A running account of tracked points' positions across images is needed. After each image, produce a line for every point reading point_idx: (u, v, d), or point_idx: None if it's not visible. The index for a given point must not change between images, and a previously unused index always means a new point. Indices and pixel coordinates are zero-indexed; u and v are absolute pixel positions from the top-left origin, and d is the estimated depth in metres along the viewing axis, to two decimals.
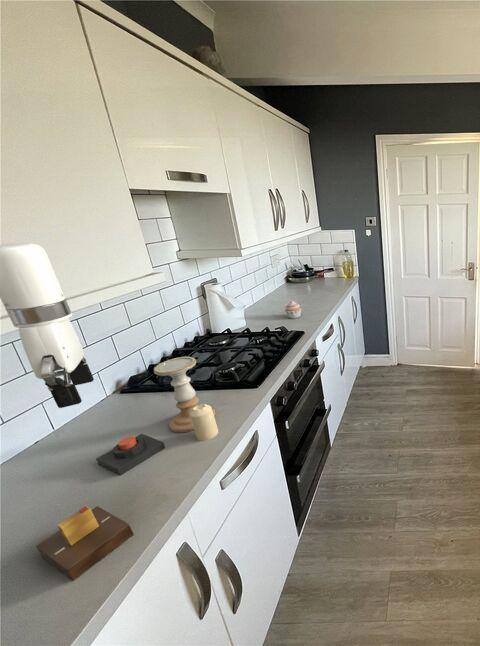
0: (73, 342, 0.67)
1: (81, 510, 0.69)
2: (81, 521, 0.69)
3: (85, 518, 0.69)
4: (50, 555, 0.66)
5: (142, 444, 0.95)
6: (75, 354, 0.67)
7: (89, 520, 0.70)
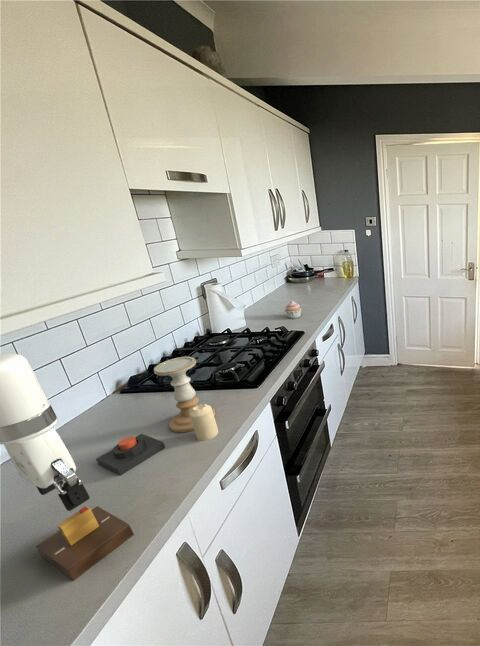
0: None
1: (81, 510, 0.69)
2: (81, 521, 0.69)
3: (85, 518, 0.69)
4: (50, 555, 0.66)
5: (142, 444, 0.95)
6: None
7: (89, 520, 0.70)
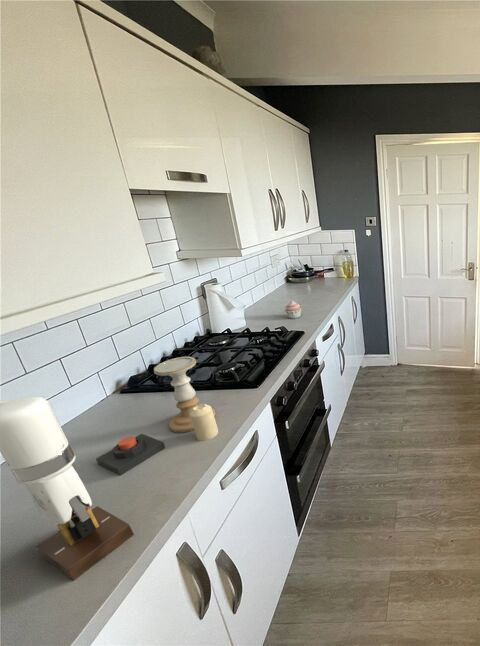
0: None
1: None
2: None
3: None
4: (50, 555, 0.66)
5: (142, 444, 0.95)
6: None
7: None
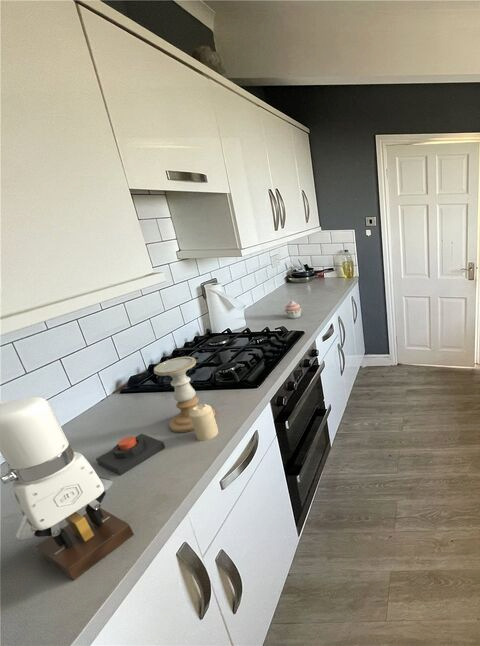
0: None
1: None
2: None
3: None
4: (50, 555, 0.66)
5: (142, 444, 0.95)
6: None
7: None
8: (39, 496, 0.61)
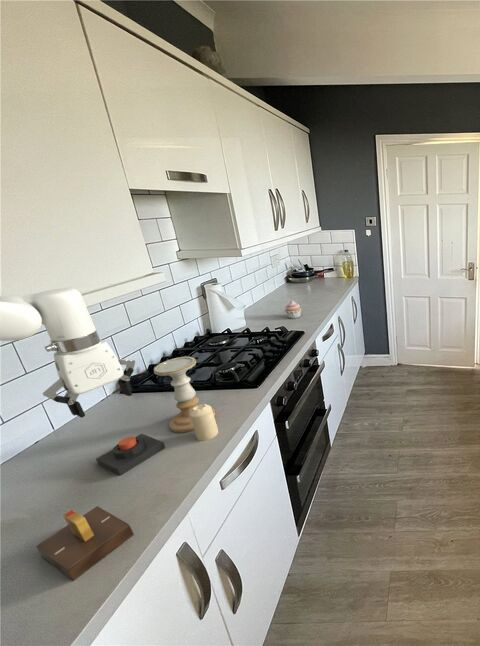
0: None
1: (69, 513, 0.69)
2: None
3: None
4: (50, 555, 0.66)
5: (142, 444, 0.95)
6: None
7: None
8: (74, 365, 0.78)
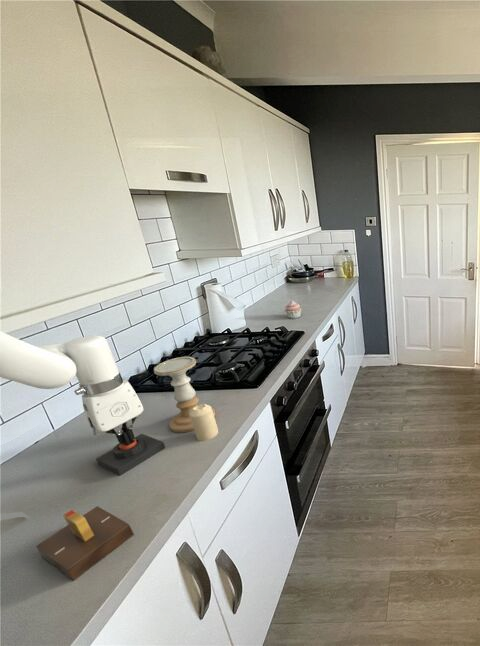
0: None
1: (69, 513, 0.69)
2: None
3: None
4: (50, 555, 0.66)
5: (142, 444, 0.95)
6: None
7: None
8: (100, 406, 0.85)
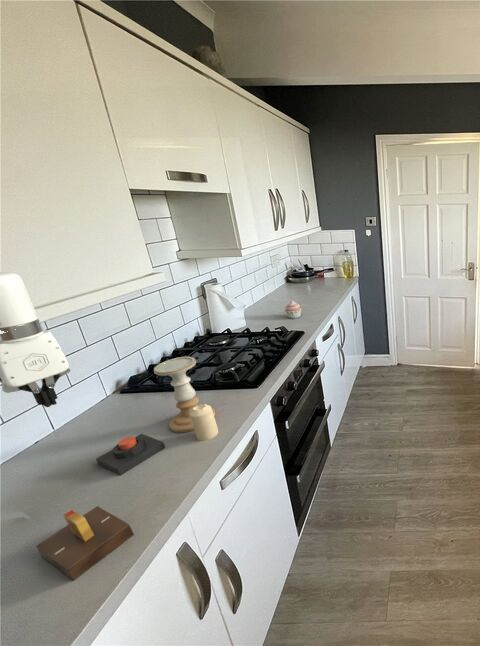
0: None
1: (69, 513, 0.69)
2: None
3: None
4: (50, 555, 0.66)
5: (142, 444, 0.95)
6: None
7: None
8: (10, 356, 0.72)
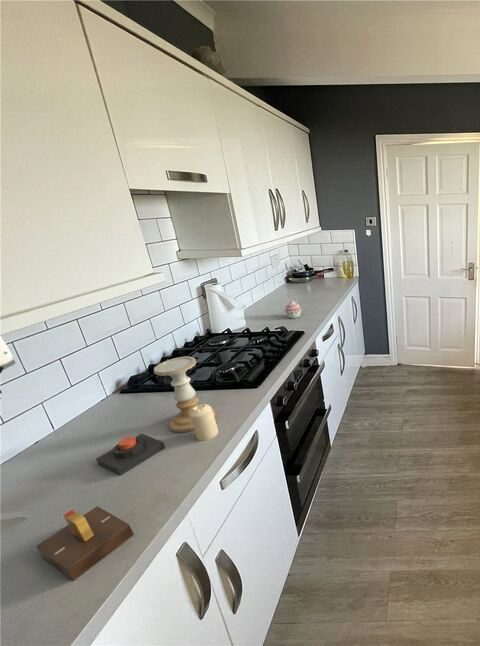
0: None
1: (69, 513, 0.69)
2: None
3: None
4: (50, 555, 0.66)
5: (142, 444, 0.95)
6: None
7: None
8: None
